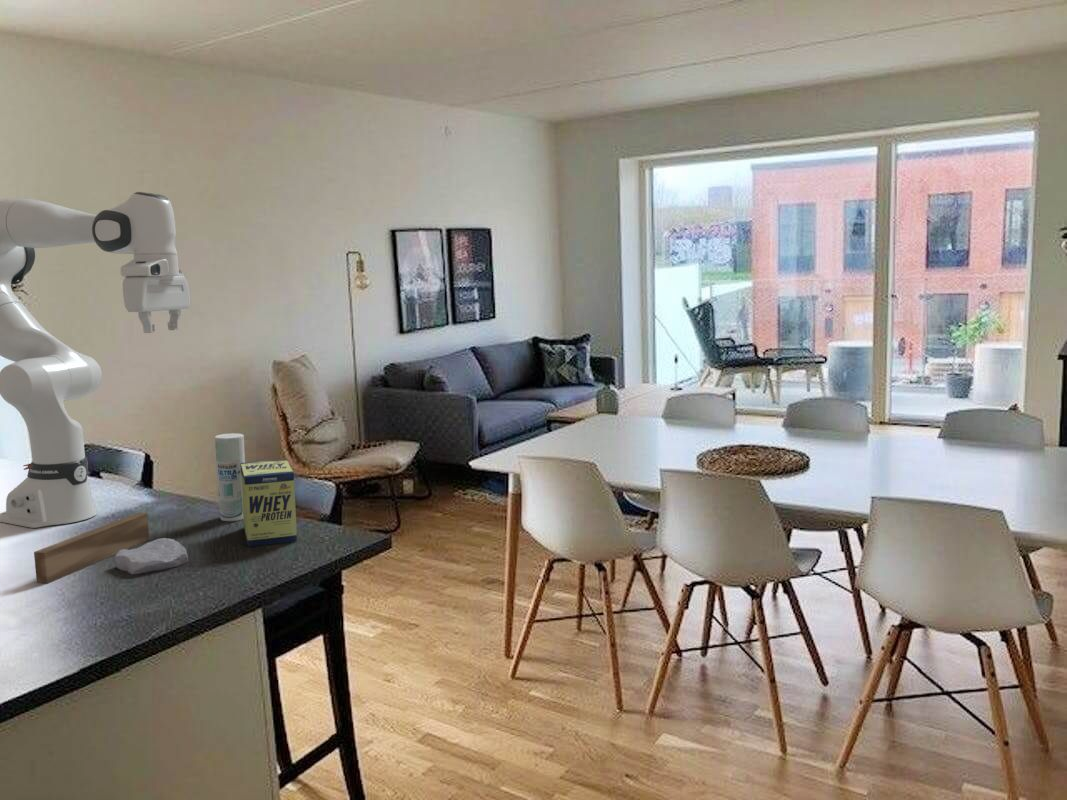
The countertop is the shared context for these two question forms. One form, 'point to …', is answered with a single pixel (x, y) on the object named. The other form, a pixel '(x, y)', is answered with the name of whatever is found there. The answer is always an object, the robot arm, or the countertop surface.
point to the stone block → (151, 556)
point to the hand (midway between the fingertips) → (161, 331)
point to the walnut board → (90, 547)
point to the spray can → (230, 475)
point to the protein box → (268, 502)
